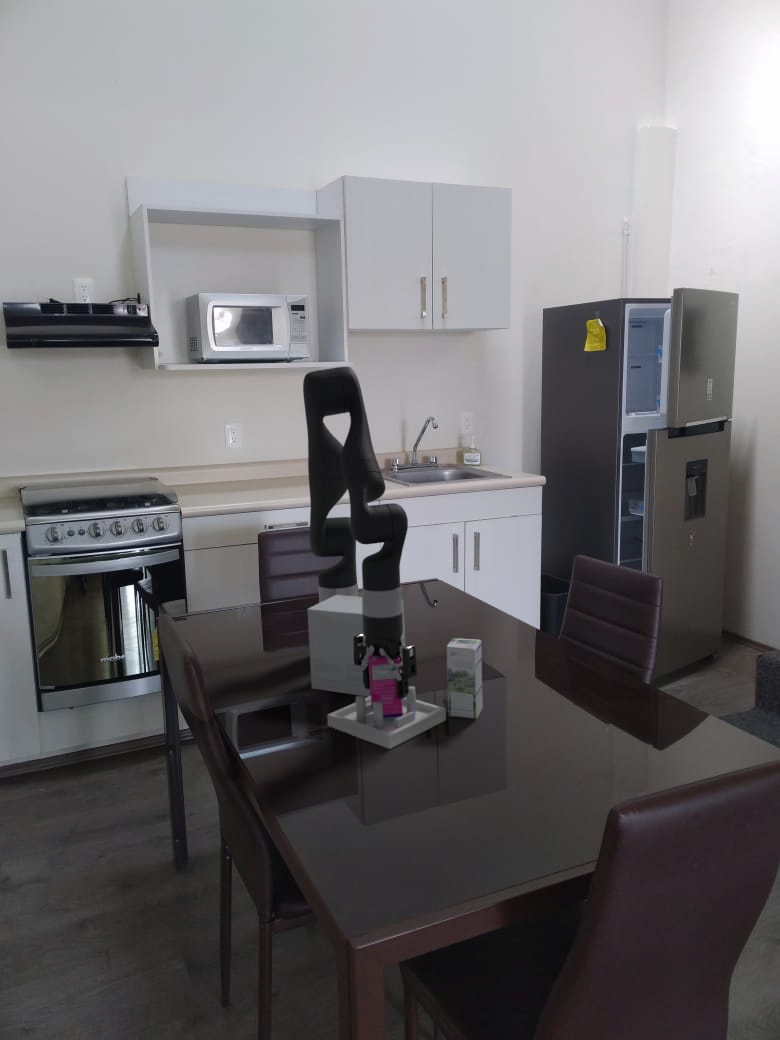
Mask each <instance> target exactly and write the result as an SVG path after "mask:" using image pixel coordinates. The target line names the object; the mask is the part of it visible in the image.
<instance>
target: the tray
mask: <svg viewBox="0 0 780 1040" xmlns="http://www.w3.org/2000/svg"><path fill="white" fill-rule="evenodd" d="M408 686H409V689H408V690H409V693H408V695H407V697H405V698H403V699H402V710H403V716H401V717H387V718H383V703H382V701H374V702H373V710H372V706H371V696H369V697H367V696H362V695H361V696H360V695H356V696H355V702H353V703H351V704H349V705H346V706H344V707H341V708H339V709H337V710H335V711H333V712H330V713H328V714H327V715H326V716H327V727H328V726H330V727H329V728H331V727H333V728H335V729H334V730H336V729H338V730H337V731H339V730H341V731H340V732H342V731H343V732H342V733H344V732H346V733H345V734H347V733H348V735H350V734H351V736H353V737H355V736H356V738H358V739H362V740H364V741H367V742H370V743H373V744H375V745H378V746H380V747H384V748H386V749H394V748H395V747H397V746H399V745H400V744H402V743H405V742H406V741H408V740H411V739H412V738H415V737H416V736H418V735H420V734H421V733H424V732H426V731H428V730H429V729H431V728H432V729H433V728H434V727H435V726H438V725H439V724H441V723H443V722H445V721H446V720H447V719H446V718H447V716H446V711H447V710H446V707H442V706H439V705H436V704H432V703H429V702H426V701H423V700H419V699H416V686H412V685H411V686H410V685H408ZM333 728H332V729H333Z"/></svg>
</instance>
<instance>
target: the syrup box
mask: <svg viewBox="0 0 780 1040" xmlns="http://www.w3.org/2000/svg"><path fill="white" fill-rule="evenodd" d="M482 655H483V654H482V640H481V639H473V638H472V639H470V638H457V637H456V638H455V637H454V638H452V639H451V640H450V641H449V643H448V644H447V645H446V667H447V671H446V672H447V699H448V702H447V704H448V717H450V718H461V719H470V720H477V719H478V717H479V716H480V714H481V713H482V711H483V709H484V708H483V707H484V702H483V676H482V675H483V673H482V669H483V666H482V664H483V663H482V662H483V661H482V657H483V656H482Z"/></svg>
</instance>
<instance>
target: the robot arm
mask: <svg viewBox="0 0 780 1040" xmlns="http://www.w3.org/2000/svg"><path fill="white" fill-rule="evenodd" d="M302 383H303V384H302V393H303V402H304V403H303V404H304V411H305V420H306V421H305V423H306V429H307V450H308V451H307V453H308V454H307V455H308V457H307V467H308V468H307V469H308V471H307V473H308V486H309V496H310V497H309V500H310V511H309V512H310V515H309V517H310V518H309V519H310V521H309V544H310V545H309V546H310V550H311V552H312V554H313V555H314V556H315V557H317V558H332V557H333V558H335V557H336V558H337V557H342V558H341V560H340V561H338V562H337V563H336V564H334V565H333V566H331V567H329V568H326V569H324V570H321V572H319V573H318V577H317V581H318V583H317V585H318V601H319V602H318V603H320V602H322V601H325V600H327V599H329V598H331V597H333V596H335V595H344V596H357V597H359V595H358V577H357V542H358V543H359V544H361V545H373V544H380V543H381V544H382V543H383V545H382V546H381V548H380V550H378V551H376V552H374V553H372V554H369V555H368V556H366V557H364V558H363V560H362V561H361V574H362V575H361V576H362V578H361V579H362V593H361V597H362V612H363V633H362V634H359V635H356V636H354V638H353V639H354V664H355V665H359V666H360V667H361V669H362V670H363V683H364V686H365V689H370V677H369V655H370V656H373V655H376V656H380V657H383V658H384V659H385V660H387V661H388V667H389V669H390V670H391V671H393V672H394V674H395V676H396V678H397V680H396V686H397V698H398V699H403V698H405V697H407V695H408V693H409V690H408V689H409V686H410V685H409V679H412V678H414V677H416V676H418V669H417V667H418V666H417V652H416V651H417V650H416V646H415V645H414V644H410V645H409V646H408V645H405V646H404V645H403V644H402V642H401V636H402V633H403V611H402V599H403V596H402V590H401V575H400V574H401V570H400V569H401V567H400V566H401V559H402V553H403V550H404V545H405V541H406V538H407V533H408V528H409V527H408V526H409V523H408V522H409V521H408V515H407V513H406V511H405V509H404V508H403V507H402V506H401V504H398V503H395V502H394V503H393V502H392V503H391V502H390V503H382V504H373V505H372V504H371V505H368V504H369V503H373V502H374V501H377V500H378V499H380V498H381V497H382V496H383V495H384V494H385V492H386V483H385V479H384V477H383V474H382V471H381V468H380V465H379V463H378V460H377V458H376V454H375V451H374V447H373V442H372V438H371V431H370V426H369V420H368V417H367V411H366V407H365V402H364V397H363V392H362V388H361V385H360V380H359V378H358V376H357V374H356V372H355V370H354V369H353V368H352V367H350V366H339V367H331V368H325V369H318V370H313V371H309V372H307V373H306V374H305V376H304V378H303V382H302ZM341 414H349V418H350V419H349V420H350V425H349V429H348V433H347V435H346V438H345V441H344V444H342V443H341V442H340V441H339V439H337V438H336V437H335V436H334V435H333V433H331V431H330V430H329V429H328V427H327V426H326V424H325V422H324V419H325V418H326V417H330V416H335V415H341ZM346 492H348V496H349V507H350V512H349V513H350V516H341V517H340V516H339V517H328V515H329V514H330V512H331V511H332V509H333V508H334V507H335V506H336V505H337V504H338V502H340V500H342V498H343V497H344V496H345V494H346ZM367 648H368V652H367ZM360 653H361V657H360ZM397 657H399V660H400V664H398V663H396V664H395V663H394V662H393V661H392V659H395V658H397ZM398 667H400V669H401V671H402V673H401V672H400V670H399V668H398Z"/></svg>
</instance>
